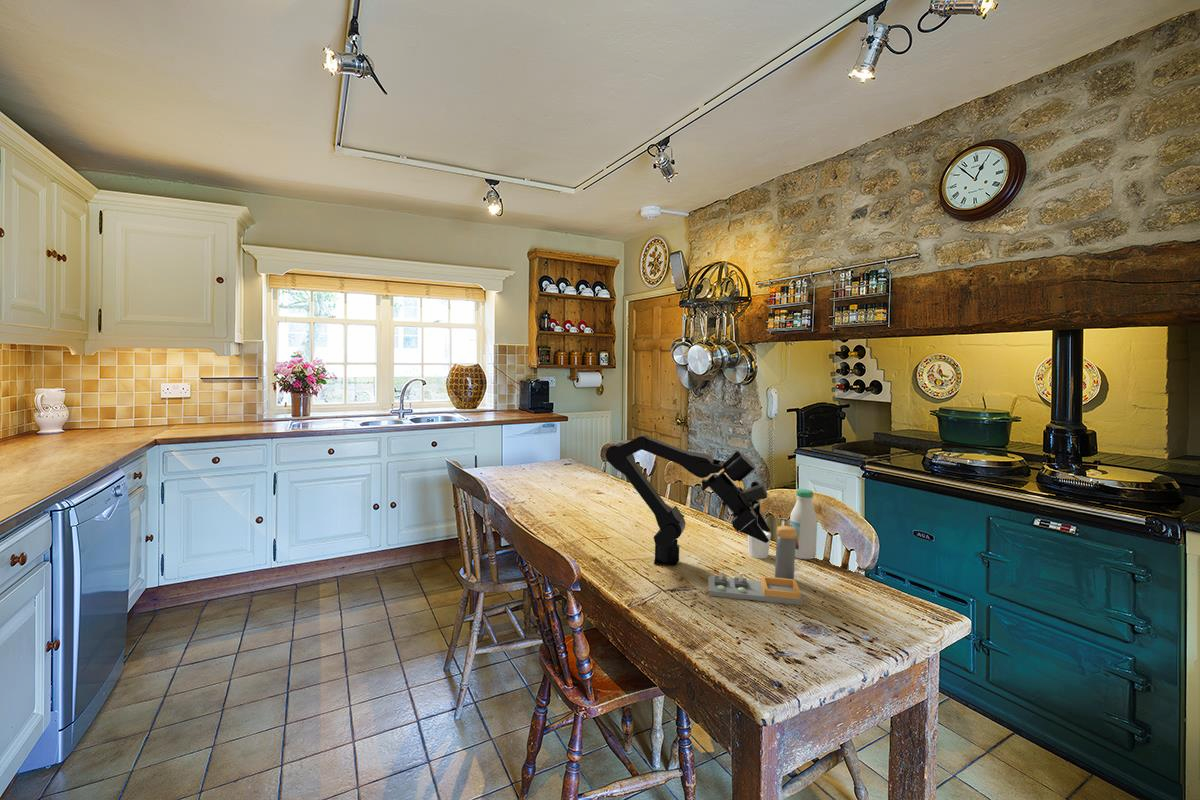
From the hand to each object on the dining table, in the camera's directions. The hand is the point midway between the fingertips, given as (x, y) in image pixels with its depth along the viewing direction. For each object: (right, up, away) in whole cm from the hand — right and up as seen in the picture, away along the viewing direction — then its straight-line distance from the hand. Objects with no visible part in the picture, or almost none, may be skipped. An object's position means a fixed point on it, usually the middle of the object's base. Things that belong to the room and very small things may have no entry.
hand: (768, 536), depth 138 cm
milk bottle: (+16, -11, +17) cm, 26 cm away
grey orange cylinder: (+4, -11, -1) cm, 12 cm away
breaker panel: (-7, -12, -9) cm, 16 cm away
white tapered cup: (+2, -10, +17) cm, 20 cm away
